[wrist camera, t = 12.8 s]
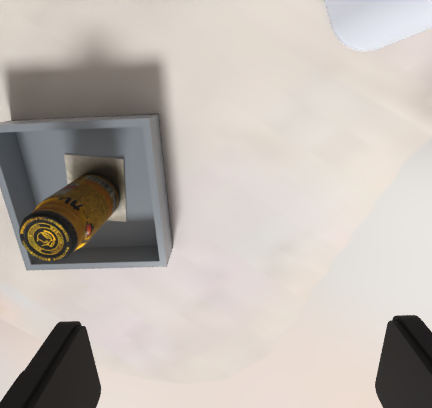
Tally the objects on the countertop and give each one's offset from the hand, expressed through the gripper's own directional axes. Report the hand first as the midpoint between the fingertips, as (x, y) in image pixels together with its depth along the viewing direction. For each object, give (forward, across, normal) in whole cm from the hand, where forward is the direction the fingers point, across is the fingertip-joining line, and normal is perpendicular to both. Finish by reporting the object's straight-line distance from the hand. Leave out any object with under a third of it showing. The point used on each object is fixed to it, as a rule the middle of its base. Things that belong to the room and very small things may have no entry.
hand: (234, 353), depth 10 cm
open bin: (+30, +17, +4) cm, 35 cm away
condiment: (+30, +17, +4) cm, 34 cm away
